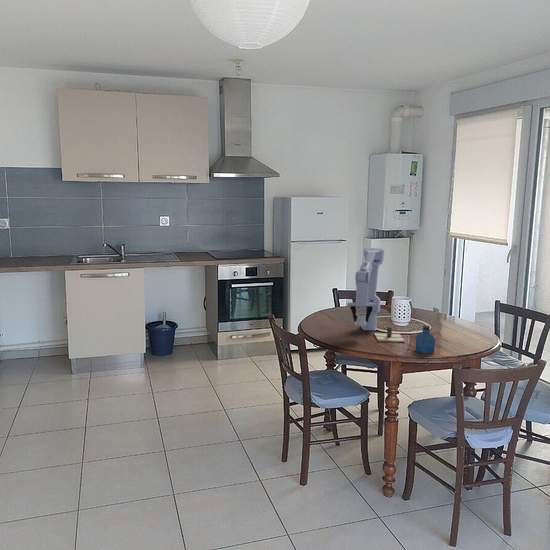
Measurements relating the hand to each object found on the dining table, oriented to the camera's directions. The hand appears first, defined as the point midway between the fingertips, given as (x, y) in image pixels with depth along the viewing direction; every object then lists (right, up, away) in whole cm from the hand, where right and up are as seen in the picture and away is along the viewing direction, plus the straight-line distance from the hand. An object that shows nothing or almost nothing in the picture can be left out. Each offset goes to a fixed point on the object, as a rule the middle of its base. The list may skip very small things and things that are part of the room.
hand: (360, 321), depth 268 cm
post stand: (+15, -9, +3) cm, 18 cm away
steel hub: (0, -2, 0) cm, 2 cm away
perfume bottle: (+28, -13, -17) cm, 35 cm away
